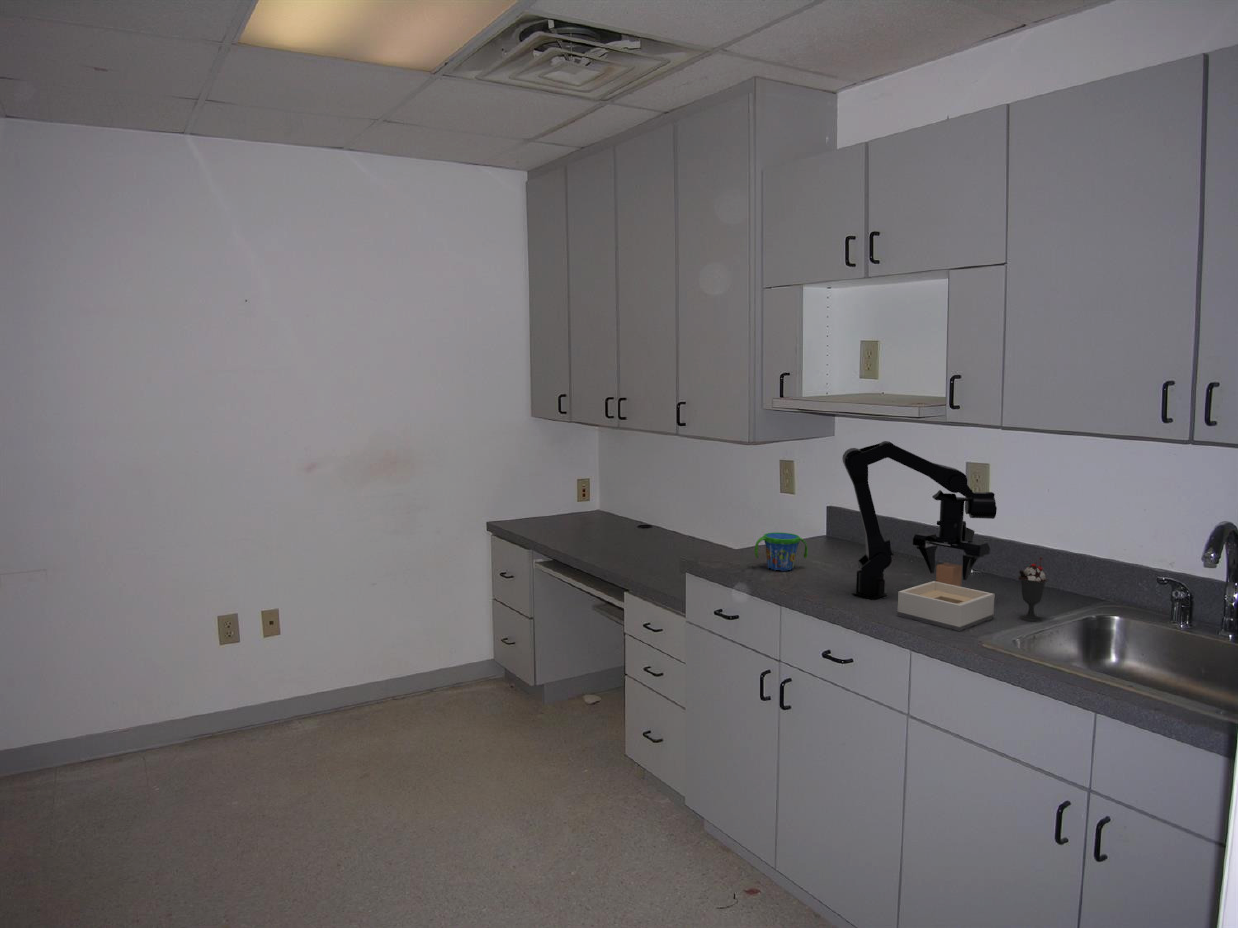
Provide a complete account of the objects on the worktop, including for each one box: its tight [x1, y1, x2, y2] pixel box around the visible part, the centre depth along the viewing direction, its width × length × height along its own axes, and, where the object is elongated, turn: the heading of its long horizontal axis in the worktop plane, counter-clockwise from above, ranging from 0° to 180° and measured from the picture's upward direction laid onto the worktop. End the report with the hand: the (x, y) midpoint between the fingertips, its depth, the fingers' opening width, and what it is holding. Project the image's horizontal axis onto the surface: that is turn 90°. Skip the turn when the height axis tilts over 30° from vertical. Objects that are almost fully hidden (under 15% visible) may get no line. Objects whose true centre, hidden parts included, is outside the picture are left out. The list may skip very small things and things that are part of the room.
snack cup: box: [754, 531, 809, 572], centre depth 258 cm, size 16×10×10 cm
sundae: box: [1017, 557, 1049, 623], centre depth 208 cm, size 7×7×15 cm
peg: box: [935, 562, 963, 587], centre depth 226 cm, size 4×4×9 cm
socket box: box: [896, 580, 996, 632], centre depth 210 cm, size 16×16×6 cm
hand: (948, 576), depth 225 cm, fingers open, 9 cm apart
